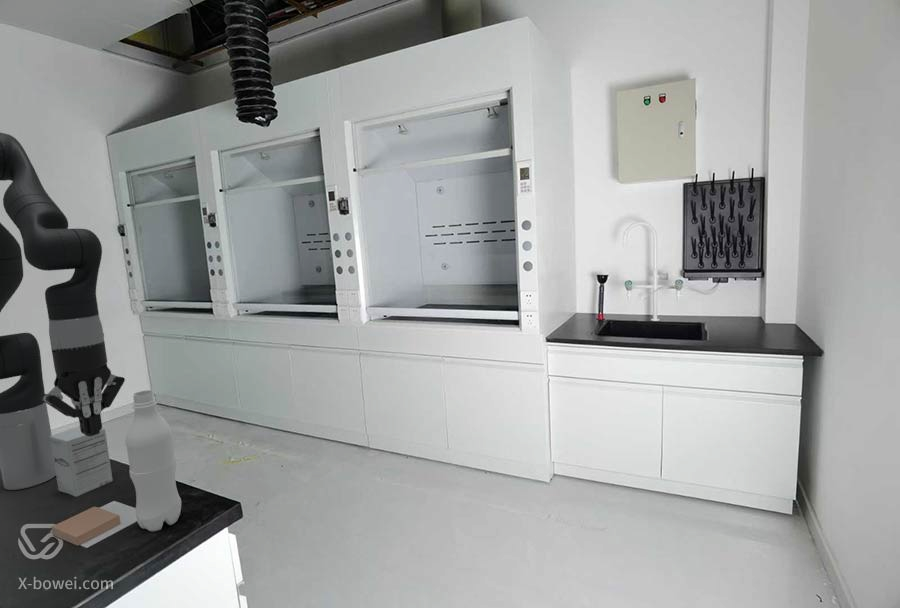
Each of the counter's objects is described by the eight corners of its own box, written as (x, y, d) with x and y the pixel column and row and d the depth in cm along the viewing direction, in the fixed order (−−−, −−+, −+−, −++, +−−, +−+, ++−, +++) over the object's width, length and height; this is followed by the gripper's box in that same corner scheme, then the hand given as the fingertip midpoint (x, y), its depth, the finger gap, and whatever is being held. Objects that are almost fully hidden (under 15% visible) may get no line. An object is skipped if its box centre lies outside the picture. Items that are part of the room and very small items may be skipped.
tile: (95, 514, 92) (52, 535, 85) (94, 506, 91) (51, 526, 85) (120, 523, 88) (77, 546, 82) (119, 515, 88) (76, 537, 82)
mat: (49, 533, 87) (49, 531, 87) (114, 502, 96) (114, 500, 96) (87, 549, 81) (86, 547, 81) (151, 515, 91) (151, 513, 91)
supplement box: (57, 491, 102) (48, 435, 100) (96, 476, 108) (87, 422, 107) (75, 499, 99) (66, 441, 97) (114, 482, 105) (106, 427, 103)
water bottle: (157, 512, 92) (139, 386, 89) (191, 512, 91) (175, 386, 88) (128, 535, 85) (108, 399, 82) (165, 536, 84) (146, 399, 81)
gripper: (106, 333, 93) (118, 419, 95) (21, 349, 81) (38, 446, 83) (129, 335, 89) (141, 424, 92) (45, 352, 78) (61, 453, 80)
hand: (92, 434), depth 88 cm, fingers closed
